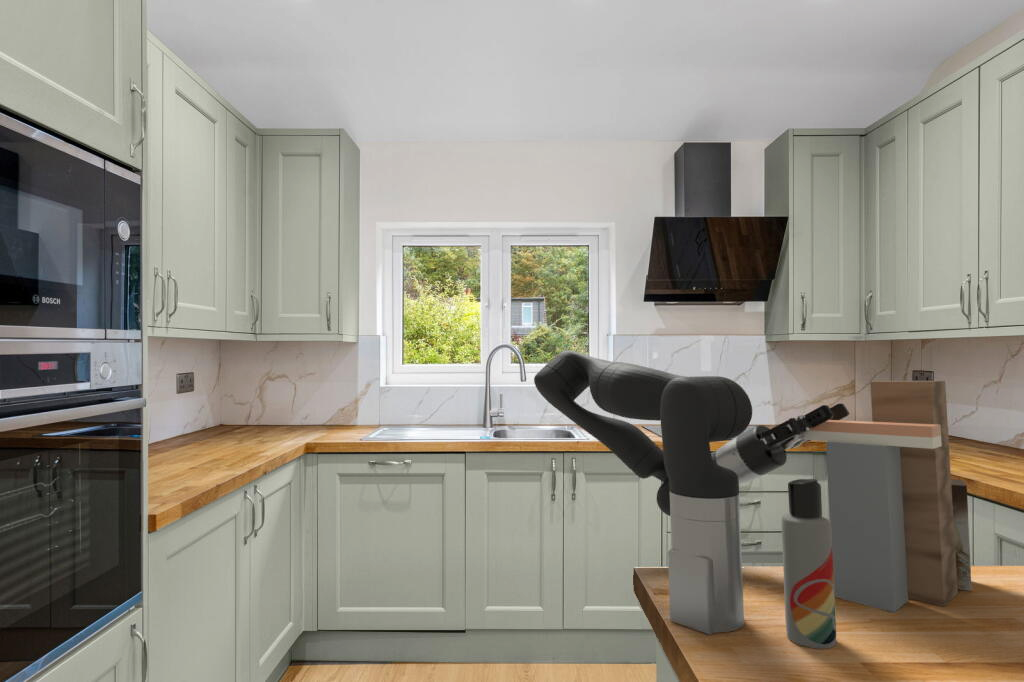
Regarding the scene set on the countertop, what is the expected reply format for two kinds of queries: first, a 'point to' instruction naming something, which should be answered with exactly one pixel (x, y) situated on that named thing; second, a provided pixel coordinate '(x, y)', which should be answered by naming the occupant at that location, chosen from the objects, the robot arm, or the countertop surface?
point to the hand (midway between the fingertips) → (837, 409)
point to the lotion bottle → (808, 568)
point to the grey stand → (867, 524)
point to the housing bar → (877, 433)
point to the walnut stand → (923, 488)
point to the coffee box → (961, 534)
